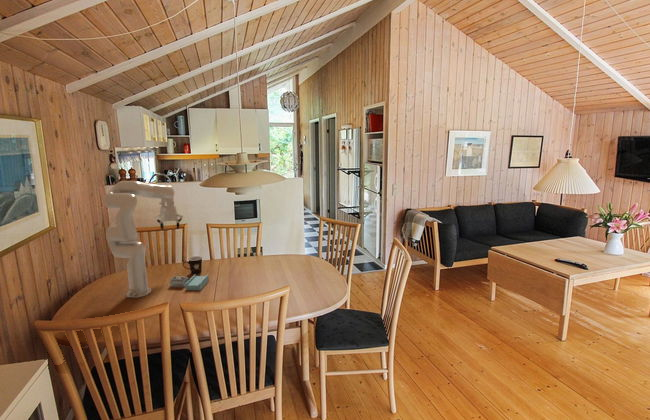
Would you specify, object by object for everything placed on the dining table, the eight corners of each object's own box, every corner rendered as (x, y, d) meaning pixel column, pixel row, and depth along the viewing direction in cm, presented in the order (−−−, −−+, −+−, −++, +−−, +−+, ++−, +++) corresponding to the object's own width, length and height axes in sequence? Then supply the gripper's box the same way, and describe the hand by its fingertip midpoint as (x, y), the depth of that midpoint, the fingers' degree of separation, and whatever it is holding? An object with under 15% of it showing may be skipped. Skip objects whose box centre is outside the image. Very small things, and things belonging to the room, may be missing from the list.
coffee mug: (204, 269, 245) (203, 256, 243) (200, 274, 237) (199, 260, 235) (187, 270, 245) (186, 256, 243) (183, 275, 236) (181, 260, 234)
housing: (184, 287, 218) (183, 278, 217) (169, 287, 219) (168, 278, 218) (188, 283, 224) (187, 274, 223) (174, 283, 225) (173, 274, 223)
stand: (200, 290, 214) (200, 283, 213) (185, 290, 214) (185, 283, 214) (208, 280, 228) (208, 274, 227) (194, 280, 228) (194, 274, 227)
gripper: (152, 205, 234) (155, 230, 237) (180, 204, 237) (182, 229, 241) (155, 203, 241) (157, 228, 244) (182, 202, 245) (184, 226, 248)
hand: (170, 228), depth 243 cm, fingers open, 9 cm apart
